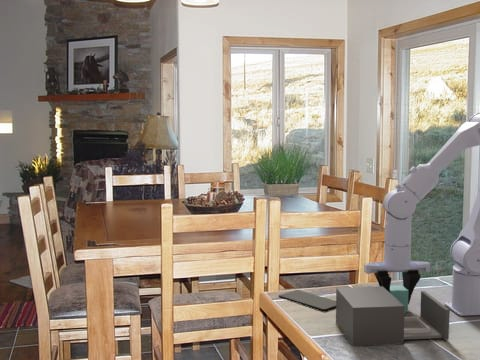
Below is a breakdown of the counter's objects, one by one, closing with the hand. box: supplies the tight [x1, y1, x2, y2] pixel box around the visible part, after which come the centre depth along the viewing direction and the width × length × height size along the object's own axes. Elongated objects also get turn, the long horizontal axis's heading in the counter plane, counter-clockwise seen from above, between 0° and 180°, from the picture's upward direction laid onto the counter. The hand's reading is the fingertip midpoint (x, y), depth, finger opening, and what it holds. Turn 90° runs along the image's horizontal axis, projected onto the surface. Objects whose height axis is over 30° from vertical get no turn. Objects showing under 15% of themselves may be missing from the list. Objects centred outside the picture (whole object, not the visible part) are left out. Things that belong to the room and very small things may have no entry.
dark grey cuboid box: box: [335, 285, 406, 347], centre depth 117 cm, size 10×13×8 cm
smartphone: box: [278, 289, 336, 312], centre depth 138 cm, size 7×1×15 cm
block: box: [390, 284, 409, 313], centre depth 131 cm, size 4×4×5 cm
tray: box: [404, 290, 451, 341], centre depth 118 cm, size 10×12×6 cm
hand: (396, 303), depth 131 cm, fingers closed on block, 4 cm apart
